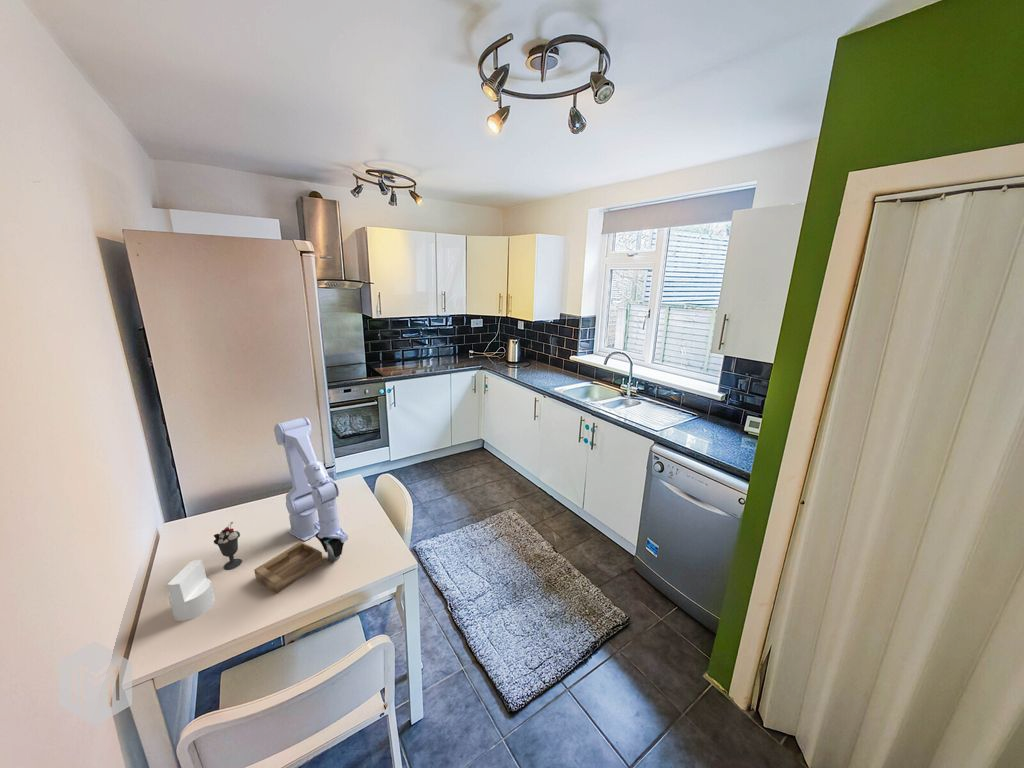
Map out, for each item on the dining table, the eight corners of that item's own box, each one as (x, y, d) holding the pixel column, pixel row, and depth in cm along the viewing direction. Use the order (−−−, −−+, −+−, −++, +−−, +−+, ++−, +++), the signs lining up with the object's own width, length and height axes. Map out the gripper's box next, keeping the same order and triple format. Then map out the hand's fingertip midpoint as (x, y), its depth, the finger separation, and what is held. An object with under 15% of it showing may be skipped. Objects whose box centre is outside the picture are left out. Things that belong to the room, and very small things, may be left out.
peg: (323, 559, 124) (320, 540, 122) (335, 551, 128) (333, 532, 126) (332, 564, 122) (329, 544, 120) (344, 556, 126) (342, 536, 124)
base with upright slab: (200, 620, 102) (190, 583, 99) (165, 622, 101) (154, 585, 98) (222, 593, 111) (214, 559, 107) (190, 595, 110) (180, 560, 107)
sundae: (250, 559, 124) (242, 520, 120) (229, 574, 118) (220, 533, 114) (236, 554, 126) (227, 516, 122) (215, 568, 120) (205, 528, 116)
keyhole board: (256, 579, 116) (254, 569, 115) (302, 550, 128) (301, 541, 127) (277, 593, 110) (274, 583, 109) (323, 561, 123) (321, 552, 122)
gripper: (302, 517, 121) (308, 552, 124) (332, 531, 114) (337, 568, 118) (322, 506, 127) (327, 540, 130) (351, 519, 120) (356, 554, 124)
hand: (333, 552), depth 124 cm, fingers closed on peg, 4 cm apart
